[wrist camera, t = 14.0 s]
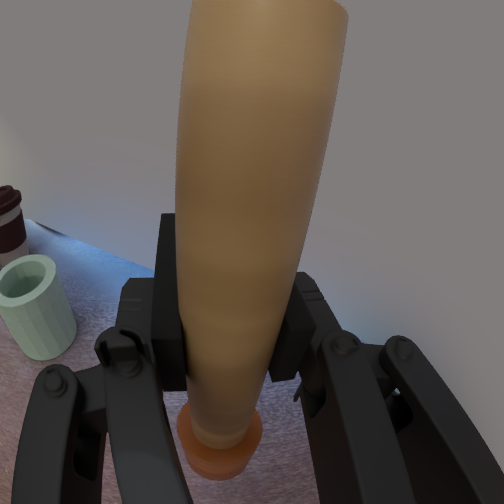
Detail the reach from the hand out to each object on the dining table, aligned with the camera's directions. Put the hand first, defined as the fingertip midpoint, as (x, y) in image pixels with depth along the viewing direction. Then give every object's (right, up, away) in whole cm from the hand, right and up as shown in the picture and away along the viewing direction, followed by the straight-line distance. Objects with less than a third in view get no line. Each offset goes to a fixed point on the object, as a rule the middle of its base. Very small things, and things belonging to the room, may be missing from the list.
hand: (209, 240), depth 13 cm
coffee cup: (-46, -2, +29) cm, 55 cm away
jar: (-27, -12, +18) cm, 35 cm away
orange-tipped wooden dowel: (-1, -14, +3) cm, 15 cm away
